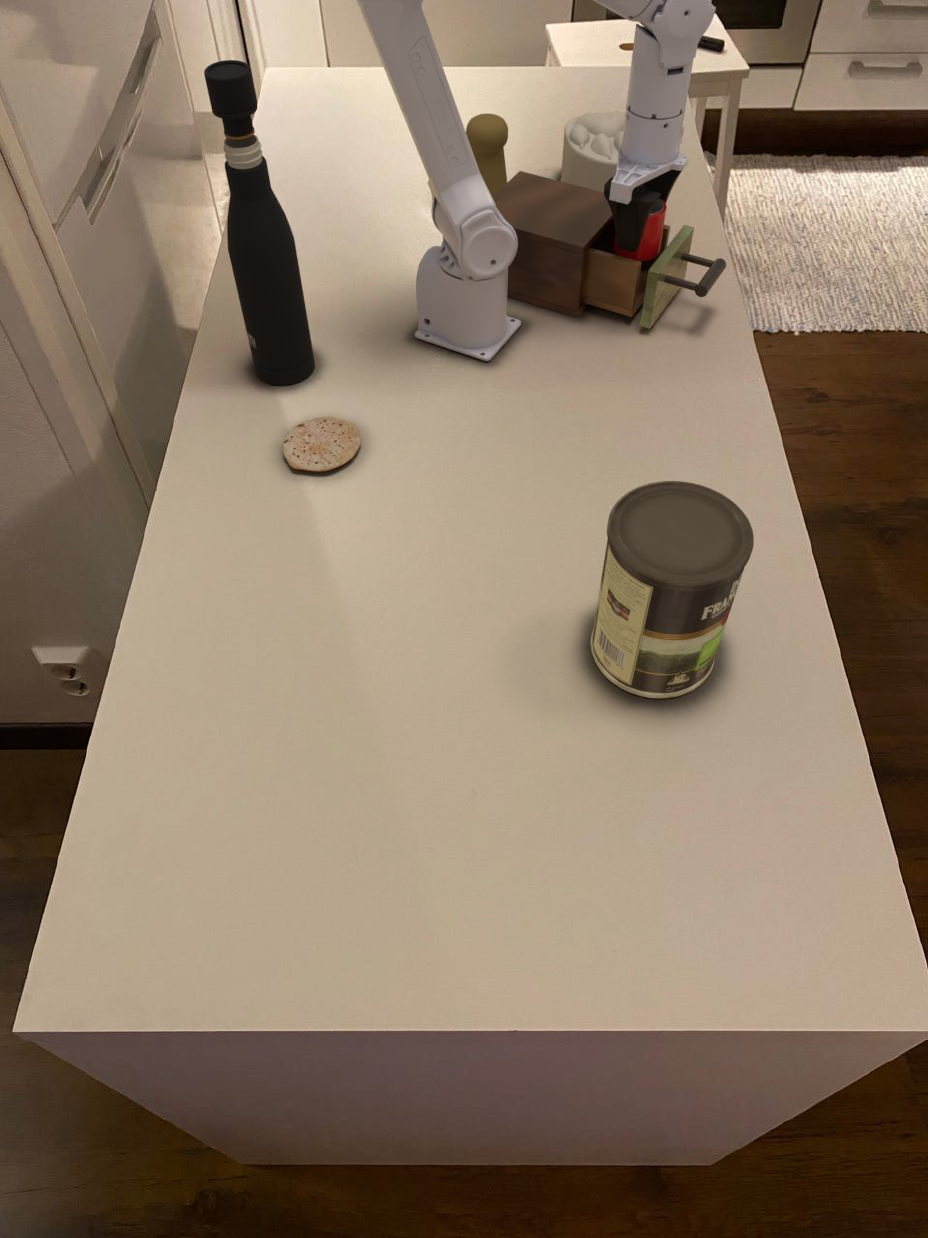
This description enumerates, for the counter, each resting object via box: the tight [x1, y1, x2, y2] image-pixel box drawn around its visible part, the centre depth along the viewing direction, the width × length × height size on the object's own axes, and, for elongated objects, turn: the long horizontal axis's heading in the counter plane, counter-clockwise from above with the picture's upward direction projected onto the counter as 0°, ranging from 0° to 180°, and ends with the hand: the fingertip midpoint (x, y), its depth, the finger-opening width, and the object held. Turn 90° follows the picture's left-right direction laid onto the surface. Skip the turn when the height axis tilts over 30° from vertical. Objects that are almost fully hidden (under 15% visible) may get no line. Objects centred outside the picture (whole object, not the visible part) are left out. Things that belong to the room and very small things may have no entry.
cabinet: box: [492, 170, 613, 318], centre depth 109 cm, size 14×12×9 cm
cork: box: [465, 113, 509, 197], centre depth 118 cm, size 6×6×11 cm
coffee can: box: [590, 480, 755, 699], centre depth 73 cm, size 10×10×14 cm
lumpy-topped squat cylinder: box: [560, 110, 625, 192], centre depth 121 cm, size 10×13×9 cm
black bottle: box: [203, 59, 316, 387], centre depth 90 cm, size 6×6×30 cm
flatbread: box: [282, 416, 362, 472], centre depth 93 cm, size 8×8×1 cm
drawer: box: [581, 219, 727, 329], centre depth 106 cm, size 17×10×7 cm, turn 61°
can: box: [614, 198, 668, 261], centre depth 102 cm, size 5×5×5 cm
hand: (637, 236), depth 103 cm, fingers closed on can, 5 cm apart
